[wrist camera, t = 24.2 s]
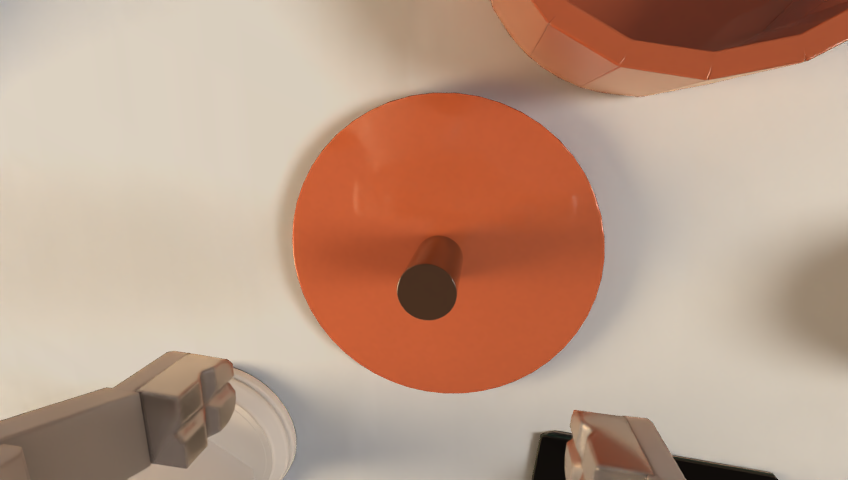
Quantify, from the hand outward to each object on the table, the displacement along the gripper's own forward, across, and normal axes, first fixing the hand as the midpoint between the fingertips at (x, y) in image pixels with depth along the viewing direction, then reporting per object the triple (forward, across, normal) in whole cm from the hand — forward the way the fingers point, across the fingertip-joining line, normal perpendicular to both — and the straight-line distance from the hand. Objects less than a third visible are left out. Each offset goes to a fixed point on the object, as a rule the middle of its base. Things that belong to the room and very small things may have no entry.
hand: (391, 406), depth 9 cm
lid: (+12, 0, 0) cm, 12 cm away
